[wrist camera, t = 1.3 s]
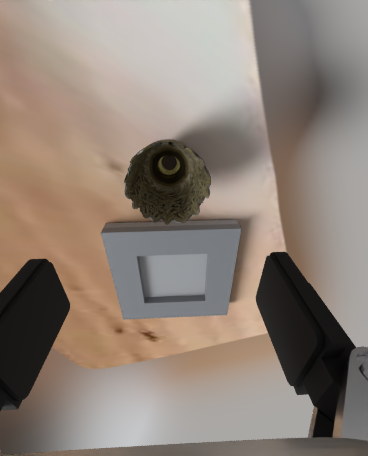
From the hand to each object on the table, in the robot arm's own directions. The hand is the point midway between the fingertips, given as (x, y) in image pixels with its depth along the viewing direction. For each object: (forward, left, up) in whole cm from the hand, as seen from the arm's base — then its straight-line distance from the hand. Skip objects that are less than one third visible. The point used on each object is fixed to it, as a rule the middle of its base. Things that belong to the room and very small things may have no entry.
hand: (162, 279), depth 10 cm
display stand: (+17, 0, -18) cm, 25 cm away
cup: (0, 0, -19) cm, 19 cm away
